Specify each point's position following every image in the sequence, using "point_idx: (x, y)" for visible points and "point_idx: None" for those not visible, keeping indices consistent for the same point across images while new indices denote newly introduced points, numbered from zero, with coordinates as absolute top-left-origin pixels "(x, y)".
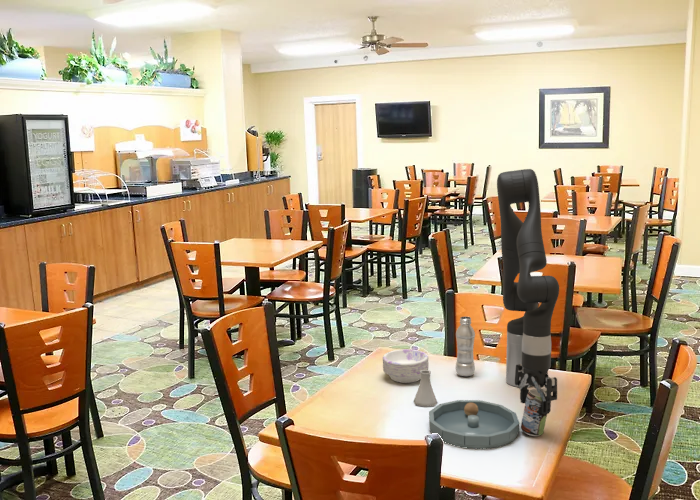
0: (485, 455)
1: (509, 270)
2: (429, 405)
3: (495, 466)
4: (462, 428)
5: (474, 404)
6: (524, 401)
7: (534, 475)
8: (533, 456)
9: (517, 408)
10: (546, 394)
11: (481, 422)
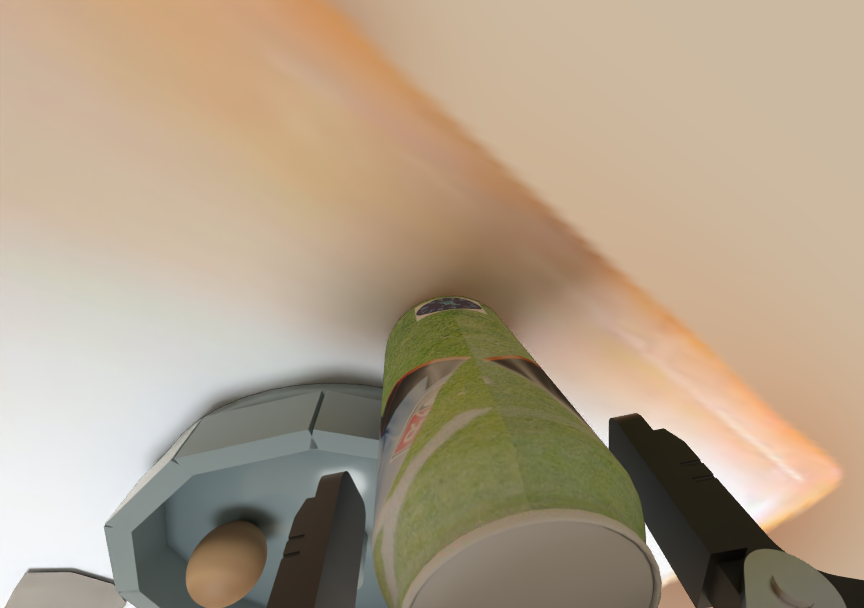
0: None
1: None
2: (115, 597)
3: None
4: (365, 565)
5: (222, 591)
6: (358, 509)
7: (757, 457)
8: (646, 415)
9: (66, 282)
10: (576, 539)
11: None
